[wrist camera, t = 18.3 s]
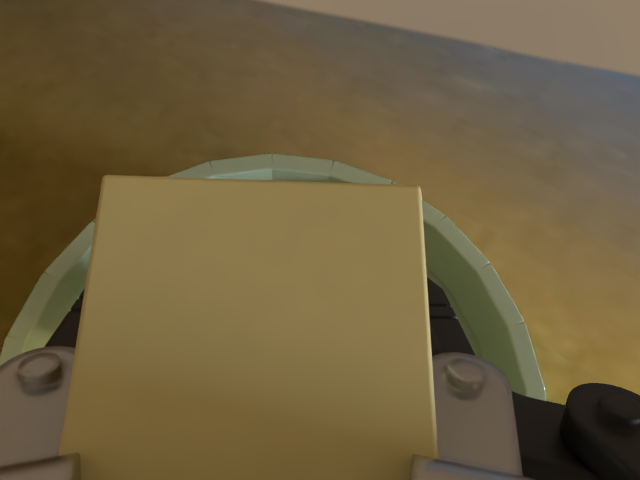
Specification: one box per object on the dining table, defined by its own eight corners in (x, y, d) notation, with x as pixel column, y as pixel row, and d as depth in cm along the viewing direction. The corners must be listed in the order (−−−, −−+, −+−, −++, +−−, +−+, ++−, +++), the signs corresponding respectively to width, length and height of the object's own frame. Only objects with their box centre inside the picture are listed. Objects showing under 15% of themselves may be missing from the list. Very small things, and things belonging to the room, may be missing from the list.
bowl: (425, 201, 24) (467, 127, 18) (528, 600, 19) (629, 666, 13) (63, 251, 22) (-11, 186, 17) (72, 703, 17) (-30, 828, 12)
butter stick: (341, 332, 16) (422, 183, 7) (342, 479, 15) (445, 537, 6) (205, 330, 16) (100, 172, 7) (193, 479, 15) (42, 539, 5)
